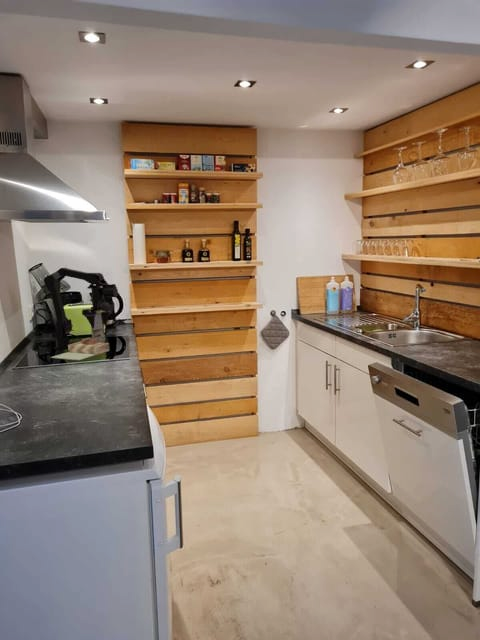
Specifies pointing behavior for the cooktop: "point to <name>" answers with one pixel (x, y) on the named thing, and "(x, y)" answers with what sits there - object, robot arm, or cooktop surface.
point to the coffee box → (98, 327)
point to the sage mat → (73, 356)
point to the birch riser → (88, 348)
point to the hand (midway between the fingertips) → (99, 326)
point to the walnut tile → (90, 341)
